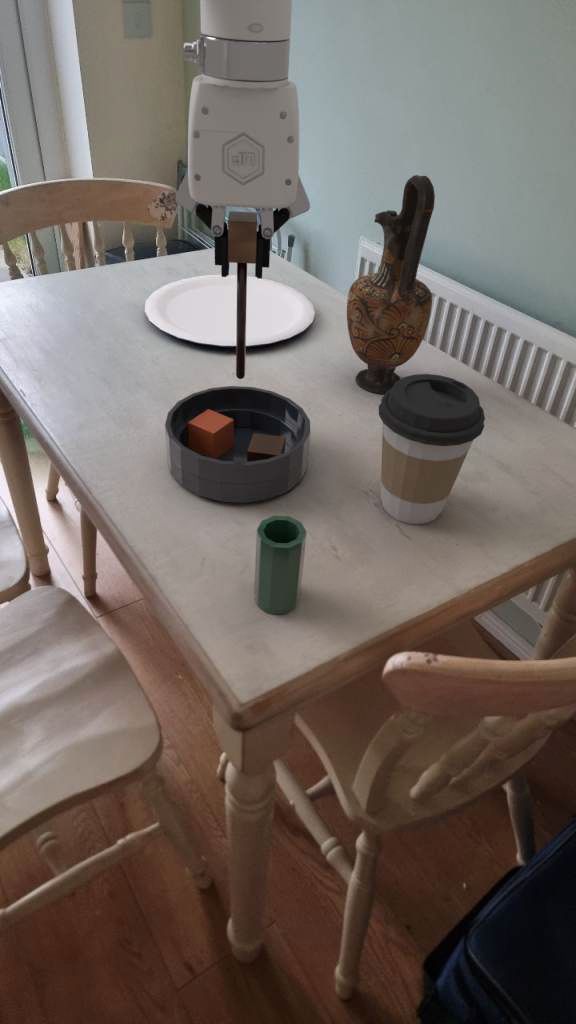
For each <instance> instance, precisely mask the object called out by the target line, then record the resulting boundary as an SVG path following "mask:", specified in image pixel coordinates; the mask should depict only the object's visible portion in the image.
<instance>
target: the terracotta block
mask: <svg viewBox="0 0 576 1024" xmlns="http://www.w3.org/2000/svg"><path fill="white" fill-rule="evenodd" d="M188 428H189V449H190V450H193V451H195V452H197V453H199V454H201V455H204V456H206V457H209V458H213V459H217V458H218V457H219V456H221V455H222V454H223V453H225V452H226V451H227V450H229V449H230V448H231V447H233V437H234V420H233V419H231V418H229V417H226V416H224V415H222V414H219V413H217V412H214V411H212V410H210V409H208V410H206V411H205V412H203V413H202V414H200V415H199V416H197V417H196V418H194V419H193V420H191V421H190V422H188Z"/></svg>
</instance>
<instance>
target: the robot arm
mask: <svg viewBox="0 0 576 1024" xmlns="http://www.w3.org/2000/svg"><path fill="white" fill-rule="evenodd" d="M292 6H293V0H199V7H200V8H199V9H200V12H199V13H200V36H199V37H198V38H197V40H192V41H190V42H189V41H183V58H184V61H186V62H187V61H189V62H193V64H197V67H200V73H201V74H200V75H196V76H194V78H193V79H192V84H191V90H190V98H189V106H188V123H187V124H188V125H187V170H186V172H185V174H184V177H183V179H182V182H181V184H180V185H179V188H178V190H177V193H176V194H175V198H174V199H175V203H176V204H177V205H178V206H180V207H181V208H183V209H185V210H187V211H188V212H191V213H192V214H194V215H196V216H197V218H198V219H199V220H200V221H201V222H202V223H203V224H204V225H205V226H206V227H207V228H208V229H209V230H210V232H211V234H212V235H213V237H214V266H220V267H221V268H220V269H221V270H220V271H221V274H220V275H221V277H227V276H229V275H230V262H228V222H226V210H227V207H230V208H247V209H248V208H250V209H259V211H260V223H259V224H258V225H257V245H256V263H255V264H254V265H255V266H254V269H255V270H254V277H257V278H259V279H263V268H270V261H271V260H270V259H271V257H270V256H271V239H272V238H273V237H274V235H275V233H277V232H278V231H279V230H280V229H281V228H282V227H283V226H284V225H285V224H286V223H287V222H288V221H289V220H291V219H294V218H295V217H298V216H300V215H302V214H305V213H306V212H308V211H309V210H310V208H311V204H310V203H311V202H310V198H309V197H308V194H307V192H306V189H305V187H304V185H303V182H302V179H301V176H300V174H299V169H300V168H299V167H300V166H299V165H300V164H299V162H300V109H299V97H298V89H297V84H295V82H294V81H292V80H289V68H290V46H291V29H292V28H291V27H292V10H293V9H292Z"/></svg>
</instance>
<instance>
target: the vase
mask: <svg viewBox="0 0 576 1024" xmlns="http://www.w3.org/2000/svg"><path fill="white" fill-rule="evenodd" d="M435 199H436V194H435V187H434V185H433V182H432V181H431V179H430V178H429V177H428V176H427V175H419V174H415V175H412V176H411V177H410V178H409V179H408V180H406V182H405V185H404V188H403V195H402V200H401V202H402V203H401V210H400V212H399V214H398V212H397V211H395V210H390V209H388V210H386V211H381V212H377V213H376V214H375V217H374V220H373V221H374V224H375V223H376V224H379V225H380V226H381V228H382V231H383V248H382V249H383V250H382V254H381V260H380V264H379V266H378V270H377V272H374V273H373V272H372V273H369V274H365V275H363V276H360V277H359V278H357V279H355V280H354V282H352V284H351V286H350V288H349V290H348V294H347V302H346V324H347V332H348V336H349V340H350V341H349V342H350V345H351V347H352V349H353V351H354V353H355V354H356V356H357V357H358V358H359V360H361V361H362V362H363V363H364V364H366V366H367V368H365V369H362V370H360V371H359V372H358V373H357V374H356V376H355V383H356V385H357V386H358V387H360V388H361V389H363V390H364V391H367V392H371V393H374V394H380V395H385V393H386V392H387V391H388V390H390V389H392V387H393V386H394V384H395V383H396V382H397V381H399V380H400V379H402V378H401V377H400V376H399V375H398V374H397V373H396V368H397V367H400V366H402V365H404V364H405V363H407V362H408V361H410V359H412V357H413V356H414V355H415V354H416V352H417V351H418V349H419V348H420V346H421V344H422V342H423V340H424V337H425V335H426V333H427V329H428V326H429V323H430V320H431V319H430V318H431V313H432V307H433V297H432V292H431V290H430V288H429V287H428V286H427V285H426V284H425V283H424V282H422V281H421V280H419V279H418V278H417V274H418V270H419V265H420V261H421V258H422V253H423V250H424V247H425V246H424V245H425V242H426V238H427V234H428V229H429V226H430V222H431V219H432V216H433V212H434V209H435V201H436V200H435Z"/></svg>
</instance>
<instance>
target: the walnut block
mask: <svg viewBox="0 0 576 1024" xmlns="http://www.w3.org/2000/svg"><path fill="white" fill-rule="evenodd" d="M285 441H286V437H281V436H274V435H266V434H258V433H253V436H252V439H251V442H250V445H249V448H248V451H247V462H250V461H258V460H265V459H270V458H272V457H275V456H278V455H280V454H283V453H285Z"/></svg>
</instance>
